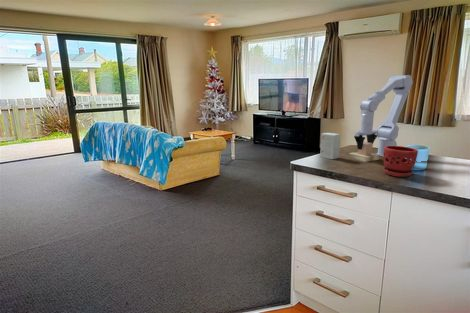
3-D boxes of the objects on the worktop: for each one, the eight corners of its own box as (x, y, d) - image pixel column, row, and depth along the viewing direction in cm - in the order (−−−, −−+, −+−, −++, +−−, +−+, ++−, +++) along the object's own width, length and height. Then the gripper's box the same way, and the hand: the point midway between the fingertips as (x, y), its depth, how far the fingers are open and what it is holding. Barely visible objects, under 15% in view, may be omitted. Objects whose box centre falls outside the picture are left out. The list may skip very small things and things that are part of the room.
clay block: (363, 152, 169) (364, 141, 167) (371, 154, 164) (372, 143, 163) (357, 153, 166) (358, 142, 165) (365, 155, 162) (366, 144, 161)
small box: (339, 157, 168) (341, 134, 165) (332, 159, 164) (334, 135, 161) (326, 155, 174) (328, 132, 171) (319, 156, 170) (321, 133, 167)
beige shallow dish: (362, 156, 173) (362, 151, 173) (379, 160, 164) (379, 154, 163) (348, 158, 168) (348, 153, 168) (365, 163, 159) (365, 157, 158)
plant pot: (414, 180, 129) (418, 152, 126) (380, 175, 136) (383, 149, 133) (414, 172, 140) (417, 146, 138) (382, 168, 147) (385, 143, 144)
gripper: (369, 121, 168) (367, 145, 172) (351, 123, 162) (349, 148, 165) (381, 122, 162) (378, 148, 166) (362, 124, 156) (360, 151, 159)
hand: (364, 148), depth 165 cm, fingers open, 7 cm apart
